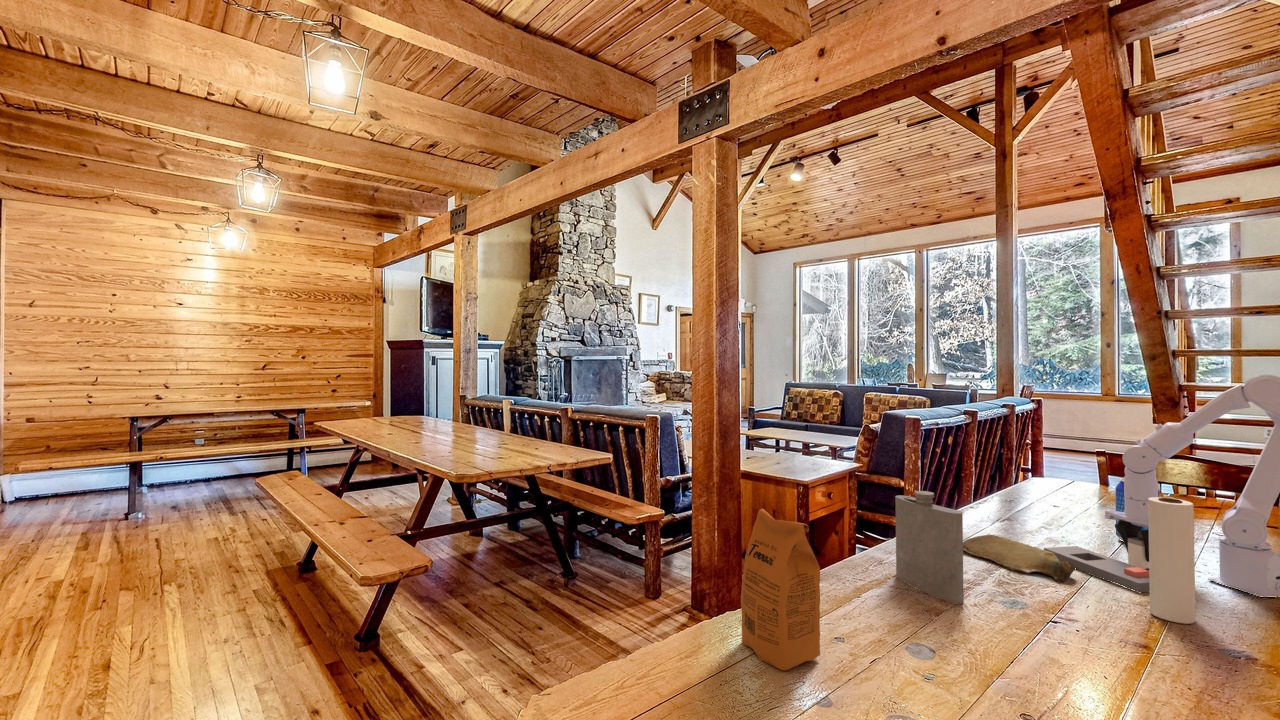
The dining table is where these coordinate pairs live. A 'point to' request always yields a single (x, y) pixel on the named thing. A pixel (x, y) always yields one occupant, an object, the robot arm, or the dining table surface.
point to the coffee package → (781, 594)
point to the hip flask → (929, 546)
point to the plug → (1137, 552)
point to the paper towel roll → (1172, 559)
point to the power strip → (1104, 567)
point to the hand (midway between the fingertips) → (1142, 558)
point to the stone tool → (1018, 556)
